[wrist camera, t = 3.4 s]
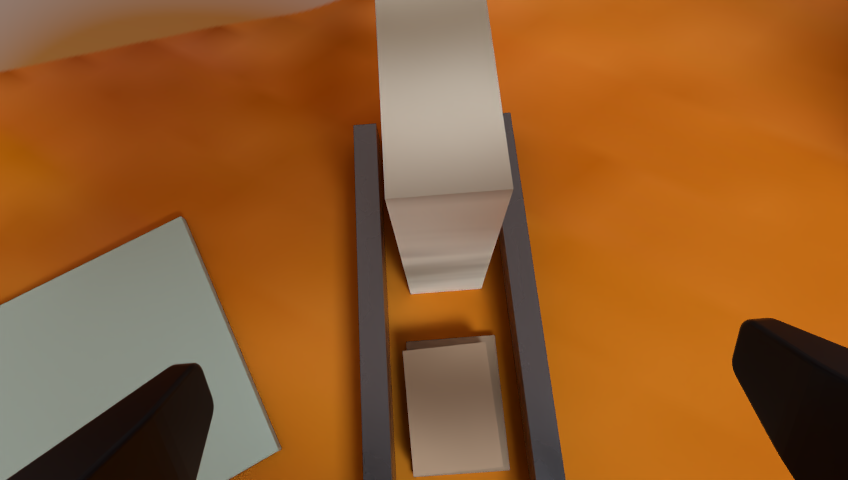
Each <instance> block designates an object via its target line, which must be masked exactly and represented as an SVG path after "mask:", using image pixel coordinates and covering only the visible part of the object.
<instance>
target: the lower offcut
mask: <svg viewBox="0 0 848 480" xmlns="http://www.w3.org/2000/svg"><path fill="white" fill-rule="evenodd" d="M480 342H485V343H486V350H487V357H488V364H489V371H490V378H491V384H492V391H493V398H494V405H495V412H496V419H497V426H498V433H499V440H500V447H501V454H502V461H503V467H498V468H489V469H480V470H471V471H461V472H452V473H443V474H434V475H425V476H435V475H449V474H463V473H478V472H492V471H506V470H510V465H509V456H508V447H507V439H506V430H505V421H504V413H503V404H502V395H501V387H500V378H499V369H498V360H497V352H496V343H495V335H489V336H475V337H462V338H449V339H436V340H422V341H409V342H406V348H407V351H408V350H417V349H426V348H435V347H444V346H453V345H462V344H471V343H480ZM416 477H420V476H416Z"/></svg>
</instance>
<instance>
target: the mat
mask: <svg viewBox="0 0 848 480" xmlns="http://www.w3.org/2000/svg"><path fill="white" fill-rule="evenodd" d="M183 363H197V364H199V365H200V366H201V367H202V370H203V372H204V375H205V378H206V381H207V383H208V386H209V389H210V392H211V395H212V398H213V403H214V411H213V417H212V420H211V424H210V428H209V432H208V436H207V440H206V444H205V448H204V452H203V456H202V459H201V463H200V467H199V471H198V475H197V479H196V480H229V479H230V478H232V477H234V476H236V475H237V474H239V473H241V472H243V471H244V470H246V469H248V468H249V467H251V466H253V465H255V464H256V463H258V462H260V461H262V460H263V459H265V458H267V457H269V456H270V455H272V454H274V453H276V452H277V451H279V450H281V449H282V448H281V446H280V444H279V441H278V439H277V437H276V434H275V432H274V429H273V427H272V425H271V422H270V420H269V418H268V415H267V413H266V410H265V408H264V406H263V403H262V401H261V398H260V396H259V394H258V391H257V389H256V387H255V384H254V382H253V379H252V377H251V375H250V372H249V370H248V368H247V365H246V363H245V360H244V358H243V356H242V353H241V351H240V348H239V346H238V344H237V341H236V339H235V337H234V334H233V332H232V329H231V327H230V325H229V322H228V320H227V318H226V315H225V313H224V310H223V308H222V306H221V303H220V301H219V298H218V296H217V294H216V291H215V289H214V287H213V284H212V282H211V279H210V277H209V275H208V272H207V270H206V268H205V265H204V263H203V260H202V258H201V256H200V253H199V251H198V248H197V246H196V244H195V241H194V239H193V237H192V234H191V232H190V229H189V227H188V225H187V222H186V220H185V219H184V218H183V217H181V216H180V217H178V218H176V219H174V220H172V221H170V222H168V223H166V224H164V225H162V226H160V227H158V228H156V229H154V230H152V231H150V232H148V233H146V234H144V235H142V236H140V237H138V238H136V239H134V240H132V241H130V242H128V243H125V244H123V245H121V246H119V247H117V248H115V249H113V250H111V251H109V252H107V253H105V254H103V255H101V256H99V257H97V258H95V259H93V260H91V261H89V262H87V263H85V264H83V265H81V266H79V267H77V268H75V269H73V270H71V271H69V272H67V273H65V274H63V275H61V276H59V277H57V278H55V279H53V280H51V281H49V282H47V283H44V284H42V285H40V286H38V287H36V288H34V289H32V290H30V291H28V292H26V293H24V294H22V295H20V296H18V297H16V298H14V299H12V300H10V301H8V302H6V303H4V304H2V305H0V480H6V479H8V478H9V477H11V476H12V475H14V474H15V473H16V472H18V471H19V470H21V469H22V468H24V467H25V466H27V465H28V464H29V463H31V462H32V461H34V460H35V459H37V458H38V457H40V456H41V455H42V454H44V453H45V452H47V451H48V450H50V449H51V448H53V447H54V446H55V445H57V444H58V443H60V442H61V441H63V440H64V439H66V438H67V437H68V436H70V435H71V434H73V433H74V432H76V431H77V430H79V429H80V428H81V427H83V426H84V425H86V424H87V423H89V422H90V421H92V420H93V419H94V418H96V417H97V416H99V415H100V414H102V413H103V412H105V411H106V410H107V409H109V408H110V407H112V406H113V405H115V404H116V403H117V402H119V401H120V400H122V399H123V398H125V397H126V396H128V395H129V394H130V393H132V392H133V391H135V390H136V389H138V388H139V387H141V386H142V385H143V384H145V383H146V382H148V381H149V380H151V379H152V378H154V377H155V376H156V375H158V374H159V373H161V372H162V371H164V370H165V369H167V368H168V367H170V366H171V365H174V364H183Z"/></svg>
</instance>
